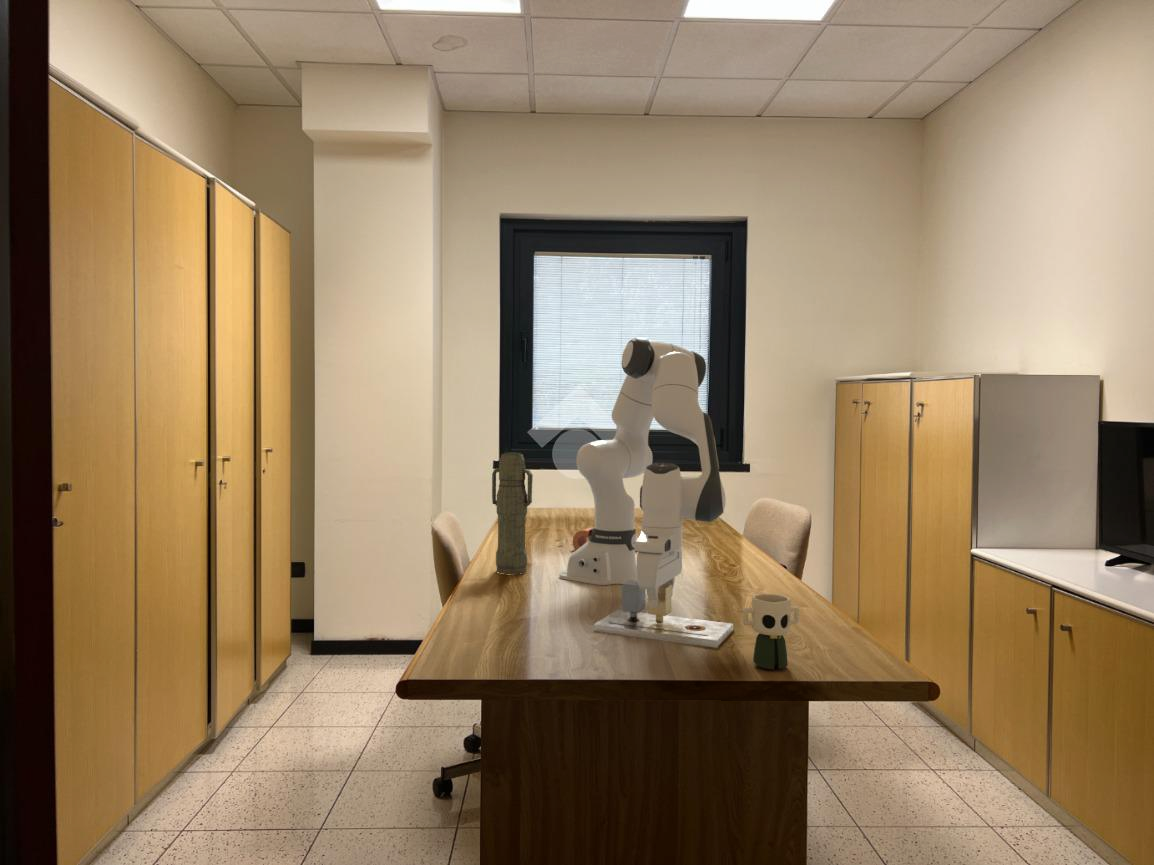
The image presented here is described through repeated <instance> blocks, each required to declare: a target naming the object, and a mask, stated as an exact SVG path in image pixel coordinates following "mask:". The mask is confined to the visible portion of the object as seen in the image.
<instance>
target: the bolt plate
mask: <svg viewBox="0 0 1154 865" xmlns="http://www.w3.org/2000/svg"><path fill="white" fill-rule="evenodd" d="M646 593H647V589H641V588H640V587H639V585H638V581H633V580H628V581H626V582H624V583H622V584H621V609H616V610H615V611H613V612H611V613H610V614H608V615H607V616H605V617H603V618H601V619H600V620H598V621H596V622H595V623H593V631H594V632H598V633H606V634H612V635H619V636H626V637H636V638H641V639H642V638H643V639H649V640H656V641H664V642H671V643H678V644H685V645H692V646H698V647H707V648H714V649H717V648H719V646H720V645H721V644H723V642H724V641H725V640H726V638H728V637H729V635H730V634H731V633H732V632H733V631H734V623H731V622H724V621H716V620H715V621H714V620H705V619H697V618H691V617H689V618H688V617H681V616H673V615H666V616H663V623H656V615H652V614H648V612H643V611H645V610H646Z"/></svg>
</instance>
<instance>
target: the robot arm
mask: <svg viewBox="0 0 1154 865" xmlns="http://www.w3.org/2000/svg"><path fill="white" fill-rule="evenodd" d="M621 368H622V370H623V372H624V373H625V374H626V376H625V379H624V381H623V383H622V385H621V387H620V390H619V393H618V395H617V398H616V400H615V403H614V405H613V408H612V411H611V420H612V421H613V423H614V425H615V426H616V428H615V435H614V437H613V438H612V439H599V440H598V439H597V440H593V441H590V442H588V443H585V444H582V446H581V447H580V448H579V449H578V452H577V453H576V459H575V460H576V467H577V470H578V472H579V473H580V475H581V476H583V477H584V478H585V480H586V481H587V483H588V484H589V487H590V490H591V493H592V495H593V496H592V497H593V504H594V528H593V529H591V530H589V531H588V532H586V533H588V534H587V535H586V536H588V535H589V539H588V540H587V542H586V543H585V544H584V545H582V546H581V547H580V548H579V549H577V550H574V551H573V552H572V553H571V554H570V556H569V558H568V561H567V567H566V569H564V570H562V571H561V572H560V573H559V575H558V577H559V579H561V580H567V581H568V580H569V581H573V582H581V583H586V584H592V585H596V586H597V585H599V586H608V585H619V584H621V585H622V583H624V582H626V581H628V580H633V581H638V585H639V587H640V588H641V589H646V595H647V599H648V598H649V607H651V608H656V607H658V606H659V598H658V595H657V592H658V587H660V586H661V585H663V584H671V585H672V596H671V598H672V597H673V590H674V587H675V586H674V585H675V580H676V578H675V577H677V576H678V575H680V574H681V573H682V571H683V554H682V552H683V549H682V548H683V520H689V521H691V520H695V521H698V522H706V523H712V522H714V521H715V520H717V519H719V518H720V516H722V515H723V514H724V511H725V508H726V504H727V503H726V499H727V498H726V492H725V488H724V486H723V483H722V479H721V474H720V465H719V458H718V453H717V447H716V438H715V435H714V429H713V423H712V420H711V417H710V415H709V414H708V413H706V412H704V411H703V410H702V409H701V407H700V404H699V388H700V386H701V385H702V384H703V381H704V379H705V377H706V374H707V363H706V359H705V358H704V356H702V355H701V354H699V353H698V352H695V351H693V350H691V351H690V350H688V349H686V348H683V347H681V346H678V345H676V344H672V343H666V342H664V341H663V342H662V341H658V340H653V339H648V337H642V336H641V337H638V336H637V337H633V338H632V339H631V340H629V341H628V342H627V343H626V346H625V348H624V349H623V352H622V356H621ZM653 420H655V421H656V422H657V423H658V425H659V426H661V427H662V428H663V429H665V430H666V431H669V432H670V433H673V434H675V435H679V436H681V437H684V438H686V439H688V440H690V441H691V442H693V443H694V444H696V446H697V447H698V452H699V459H700V468H701V472H702V473H701V474H700V475H699V476H681V469H680V467H679V466H678V465H677V464H674V463H672V462H655V463H653V461H654V460H653V458H654V457H653V452H652V450H651V448H650V445H649V433H650V428H651V425H652V424H653V423H652V422H653ZM641 475H643V478H642V485H641V486H640V488H639V507H640V509H641V510H642V513H643V515H642V519H641V523H640V524H641V526H640V527H641V528H640V529H641V530H640V532H639V536H638V537H637V534H636V532H637V531H636V530H637V528H635V507H636V506H635V500H634V499H633V497H631V495H630V494H628V493H627V491H626V488H625V485H624V479H629V478H630V479H632V478H635V477H639V476H641ZM635 551H636V552H637V554H636V552H635Z"/></svg>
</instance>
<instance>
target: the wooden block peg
mask: <svg viewBox="0 0 1154 865" xmlns="http://www.w3.org/2000/svg"><path fill="white" fill-rule="evenodd" d="M657 595H658V598H659V606H658V607H656V608H651V607H649V598H648V597H647V613H648V614H652V615H656V623H663V616H669V614H671V613H672V597H673V595H672V585H671V584H665V583H664V584H663V585H661V586H660V587H658V592H657ZM671 596H672V597H671Z"/></svg>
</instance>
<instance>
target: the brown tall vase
mask: <svg viewBox="0 0 1154 865" xmlns="http://www.w3.org/2000/svg"><path fill="white" fill-rule="evenodd" d="M497 473H498V480H499V484H498V491H497ZM526 475H527V489H526V483H525V480H526ZM491 476H492V477H491V498H492V505H495V506H496V514H497V518H498V519H497V549H496V552H495V565H496V573H497V572H499V573H504V574H520V573H524V572H526V573H527V565H528V552H527V551H528V550H527V547H526V515H527V514H528V507H529V506H530V505H532V502H533V476H534V475H533V473H532V471H531V470H530V469H526V460H525V458H524V454H522V453H521V452H515V451H514V452H512V451H511V452H504V453H501V455H500V459H499V462H498V468H495V469H494V470H493V471H492V473H491ZM524 574H525V573H524ZM520 575H521V574H520Z"/></svg>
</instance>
